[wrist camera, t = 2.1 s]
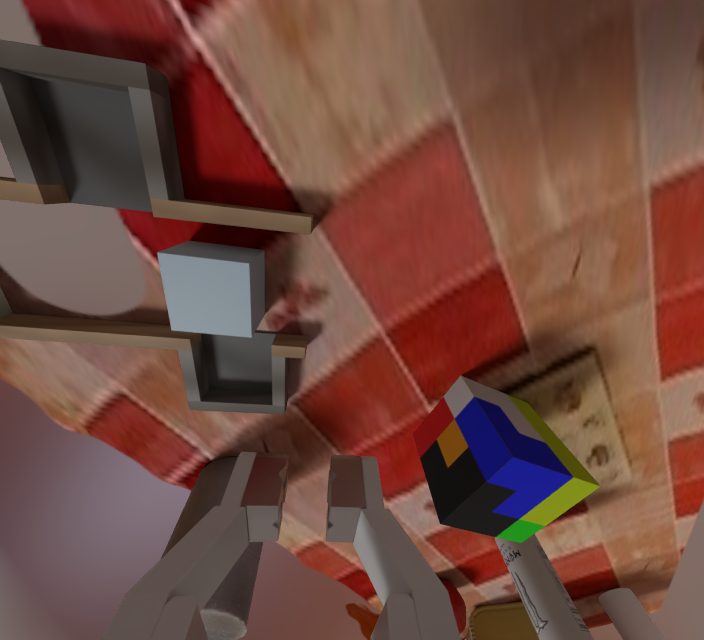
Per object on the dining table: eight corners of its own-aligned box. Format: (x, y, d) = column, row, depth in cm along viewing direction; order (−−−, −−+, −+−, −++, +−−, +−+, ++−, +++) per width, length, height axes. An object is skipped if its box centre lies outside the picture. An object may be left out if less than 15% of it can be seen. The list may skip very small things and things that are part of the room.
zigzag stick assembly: (-150, 26, 16) (-272, -14, 12) (319, 101, 18) (315, 84, 15) (36, 385, 27) (-3, 411, 24) (304, 400, 30) (300, 425, 27)
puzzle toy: (460, 375, 30) (513, 457, 21) (527, 402, 32) (600, 486, 23) (412, 433, 33) (440, 524, 25) (475, 454, 36) (521, 543, 27)
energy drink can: (493, 520, 43) (563, 669, 30) (531, 515, 43) (617, 663, 30) (489, 539, 46) (552, 683, 33) (524, 534, 46) (601, 678, 33)
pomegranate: (466, 577, 53) (491, 649, 45) (434, 598, 56) (452, 669, 48) (428, 568, 50) (447, 645, 42) (397, 591, 54) (409, 666, 45)
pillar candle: (201, 498, 37) (126, 674, 24) (199, 451, 33) (107, 634, 20) (272, 502, 39) (240, 671, 25) (279, 458, 34) (245, 633, 21)
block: (190, 240, 22) (157, 252, 18) (265, 249, 23) (249, 263, 19) (198, 306, 25) (171, 330, 21) (265, 313, 25) (251, 337, 21)
